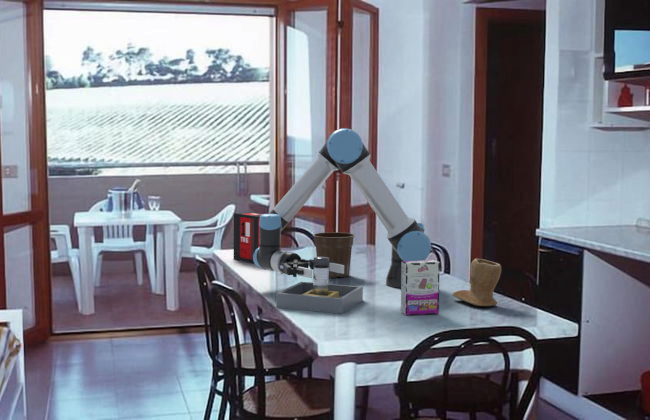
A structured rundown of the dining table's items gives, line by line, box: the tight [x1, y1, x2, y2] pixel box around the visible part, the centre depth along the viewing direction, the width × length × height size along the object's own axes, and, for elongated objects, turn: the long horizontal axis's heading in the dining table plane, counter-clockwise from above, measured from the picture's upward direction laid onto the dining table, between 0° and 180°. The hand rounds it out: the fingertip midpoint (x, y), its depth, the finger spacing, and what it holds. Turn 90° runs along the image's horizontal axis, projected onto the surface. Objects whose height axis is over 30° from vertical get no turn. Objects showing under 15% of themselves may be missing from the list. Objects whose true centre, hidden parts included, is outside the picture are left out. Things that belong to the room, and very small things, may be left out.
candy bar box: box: [400, 259, 441, 316], centre depth 253 cm, size 11×5×16 cm, turn 105°
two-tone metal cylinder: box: [312, 256, 330, 296], centre depth 265 cm, size 5×5×14 cm
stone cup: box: [452, 258, 502, 307], centre depth 269 cm, size 15×12×15 cm
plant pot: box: [312, 231, 356, 279], centre depth 317 cm, size 16×16×16 cm
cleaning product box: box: [233, 211, 263, 265], centre depth 349 cm, size 16×9×20 cm, turn 42°
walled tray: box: [275, 281, 364, 314], centre depth 265 cm, size 22×22×4 cm
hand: (327, 271), depth 262 cm, fingers open, 13 cm apart
